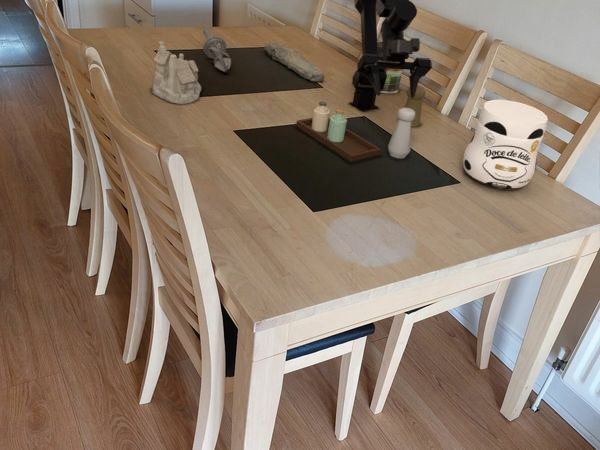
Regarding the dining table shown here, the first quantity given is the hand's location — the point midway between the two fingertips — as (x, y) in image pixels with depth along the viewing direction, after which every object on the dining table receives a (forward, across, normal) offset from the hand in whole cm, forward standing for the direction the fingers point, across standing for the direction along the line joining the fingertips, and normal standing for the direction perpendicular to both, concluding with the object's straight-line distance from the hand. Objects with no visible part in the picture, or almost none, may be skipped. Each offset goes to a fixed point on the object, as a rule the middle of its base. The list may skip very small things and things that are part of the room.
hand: (396, 96), depth 154 cm
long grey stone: (-32, -17, +54) cm, 65 cm away
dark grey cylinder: (-20, +11, +41) cm, 47 cm away
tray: (+10, -14, +9) cm, 19 cm away
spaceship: (-34, -44, +55) cm, 78 cm away
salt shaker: (+15, +1, +4) cm, 16 cm away
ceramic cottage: (-11, -55, +31) cm, 64 cm away
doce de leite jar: (+22, +24, -4) cm, 33 cm away
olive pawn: (-1, +12, +20) cm, 24 cm away
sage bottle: (+9, -14, +9) cm, 19 cm away
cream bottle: (+5, -17, +14) cm, 23 cm away
